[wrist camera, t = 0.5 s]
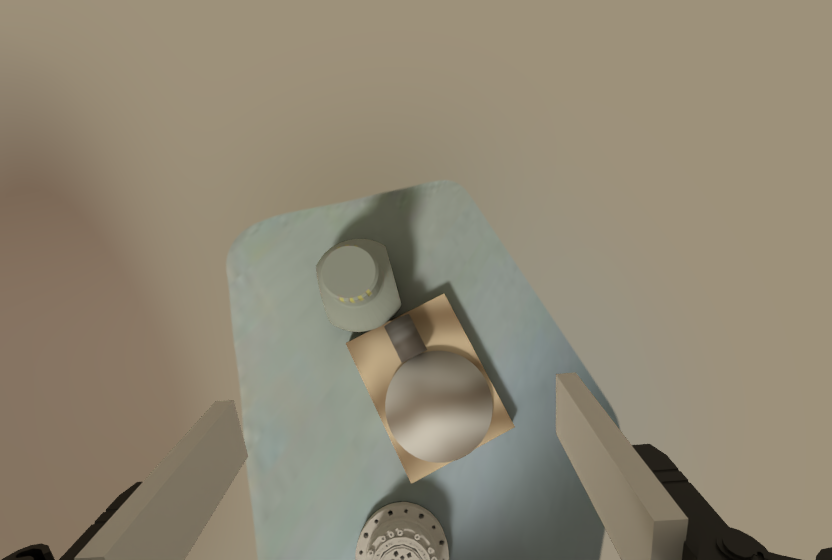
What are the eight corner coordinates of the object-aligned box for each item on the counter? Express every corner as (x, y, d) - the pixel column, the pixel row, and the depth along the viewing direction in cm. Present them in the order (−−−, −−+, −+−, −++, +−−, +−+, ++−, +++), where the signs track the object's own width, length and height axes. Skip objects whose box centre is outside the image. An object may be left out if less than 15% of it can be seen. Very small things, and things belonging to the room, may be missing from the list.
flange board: (511, 424, 44) (522, 432, 40) (411, 479, 43) (410, 494, 38) (443, 295, 47) (446, 288, 43) (347, 343, 46) (340, 342, 41)
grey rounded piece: (406, 322, 47) (403, 313, 37) (340, 340, 46) (319, 336, 36) (384, 239, 49) (375, 210, 39) (320, 256, 48) (296, 231, 38)
